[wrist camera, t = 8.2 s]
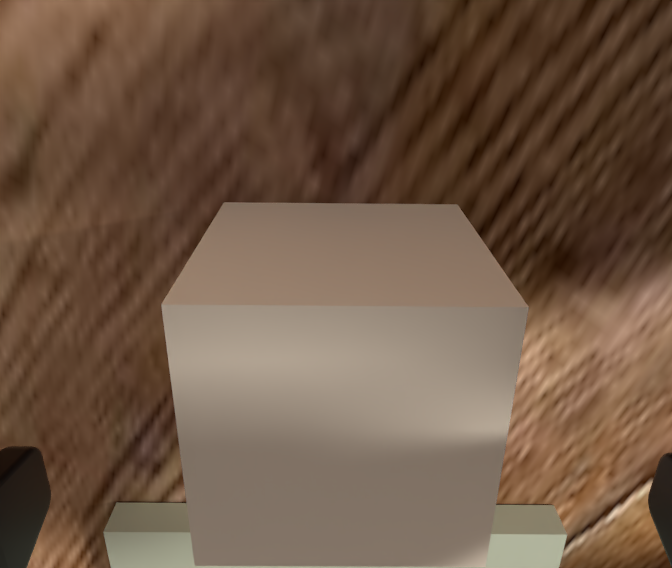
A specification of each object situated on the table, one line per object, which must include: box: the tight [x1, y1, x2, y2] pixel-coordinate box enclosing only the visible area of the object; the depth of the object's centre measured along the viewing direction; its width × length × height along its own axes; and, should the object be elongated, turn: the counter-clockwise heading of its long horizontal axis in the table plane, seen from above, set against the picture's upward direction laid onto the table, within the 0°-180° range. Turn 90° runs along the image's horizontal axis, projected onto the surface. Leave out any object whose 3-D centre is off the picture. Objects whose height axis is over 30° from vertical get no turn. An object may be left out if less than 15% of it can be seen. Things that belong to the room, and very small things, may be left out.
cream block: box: [161, 202, 529, 567], centre depth 11 cm, size 5×5×5 cm
